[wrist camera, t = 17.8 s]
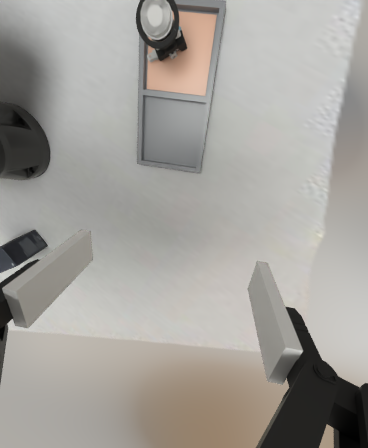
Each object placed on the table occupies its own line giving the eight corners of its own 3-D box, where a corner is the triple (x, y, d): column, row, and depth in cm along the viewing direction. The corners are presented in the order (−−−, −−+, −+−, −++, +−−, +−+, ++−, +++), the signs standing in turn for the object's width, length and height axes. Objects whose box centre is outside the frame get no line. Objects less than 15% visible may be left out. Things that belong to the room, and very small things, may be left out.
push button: (157, 78, 34) (136, 59, 25) (142, 41, 33) (115, 7, 24) (192, 57, 33) (184, 29, 24) (180, 18, 31) (165, -29, 22)
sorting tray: (140, 162, 42) (137, 163, 40) (144, 1, 31) (140, -7, 29) (200, 171, 41) (199, 173, 39) (225, 8, 30) (226, 0, 28)
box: (35, 228, 53) (0, 247, 44) (48, 245, 55) (18, 266, 46) (12, 239, 56) (-25, 259, 47) (26, 255, 57) (-7, 277, 49)
